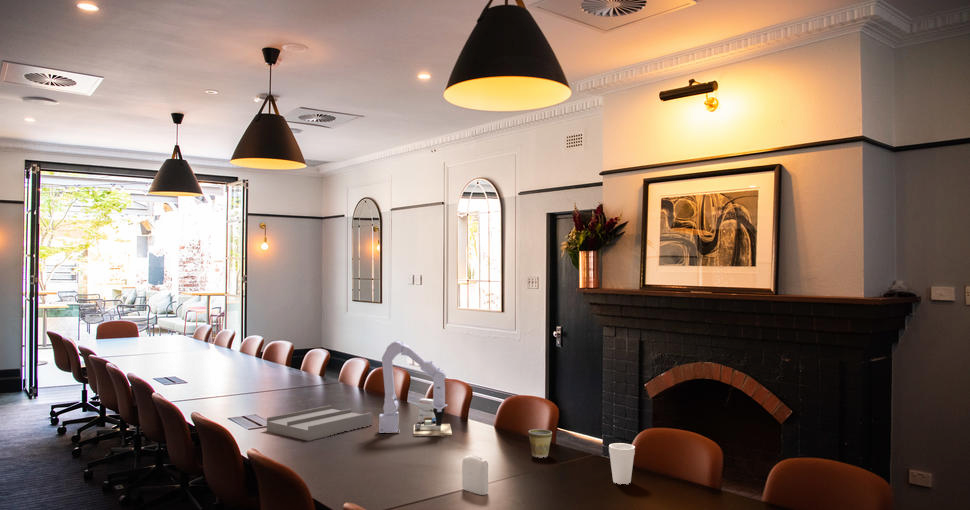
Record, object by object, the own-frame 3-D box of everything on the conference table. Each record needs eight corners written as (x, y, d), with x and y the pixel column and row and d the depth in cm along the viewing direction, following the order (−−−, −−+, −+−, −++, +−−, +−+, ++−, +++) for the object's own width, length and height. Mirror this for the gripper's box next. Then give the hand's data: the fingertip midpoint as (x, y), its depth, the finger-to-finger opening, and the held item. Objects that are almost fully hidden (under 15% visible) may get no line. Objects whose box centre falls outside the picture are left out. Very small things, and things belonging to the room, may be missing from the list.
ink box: (436, 422, 336) (437, 399, 336) (431, 424, 331) (431, 400, 332) (423, 420, 340) (424, 397, 340) (418, 422, 336) (418, 399, 336)
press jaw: (425, 428, 313) (425, 421, 313) (425, 427, 316) (425, 420, 316) (431, 428, 313) (431, 421, 313) (431, 427, 316) (431, 420, 316)
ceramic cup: (550, 459, 267) (550, 435, 267) (526, 458, 269) (526, 433, 269) (553, 451, 279) (553, 428, 280) (530, 450, 281) (531, 427, 282)
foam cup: (616, 476, 244) (616, 441, 245) (639, 481, 238) (639, 445, 239) (604, 482, 237) (604, 446, 237) (627, 487, 231) (627, 451, 232)
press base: (413, 436, 303) (413, 425, 304) (413, 427, 323) (414, 416, 323) (451, 436, 305) (451, 424, 305) (449, 426, 325) (449, 415, 325)
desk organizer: (266, 432, 312) (266, 417, 313) (330, 418, 345) (330, 405, 345) (309, 441, 294) (309, 426, 294) (372, 426, 327) (372, 412, 327)
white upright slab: (460, 489, 227) (460, 454, 228) (468, 487, 230) (469, 452, 231) (481, 496, 220) (481, 460, 220) (490, 493, 223) (490, 457, 224)
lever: (414, 430, 309) (414, 418, 309) (414, 429, 312) (414, 417, 312) (441, 430, 310) (441, 418, 310) (441, 428, 313) (441, 416, 313)
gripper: (448, 398, 305) (447, 427, 305) (446, 393, 320) (446, 420, 319) (433, 398, 305) (432, 427, 304) (432, 393, 319) (432, 420, 319)
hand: (438, 424), depth 312 cm, fingers closed on lever, 3 cm apart
